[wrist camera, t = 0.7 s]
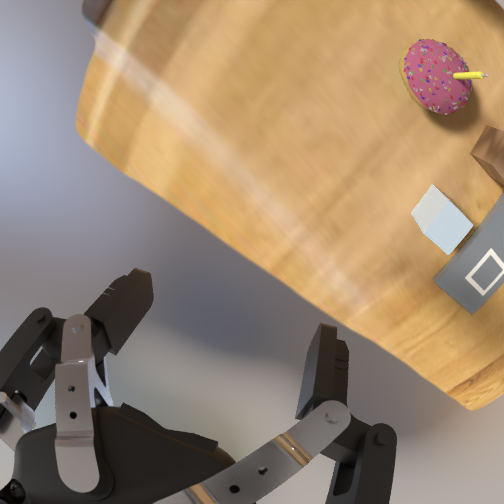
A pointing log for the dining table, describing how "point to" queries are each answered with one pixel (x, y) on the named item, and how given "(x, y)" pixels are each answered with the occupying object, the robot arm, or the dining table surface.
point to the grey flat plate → (477, 263)
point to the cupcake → (436, 76)
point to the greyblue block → (441, 220)
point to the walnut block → (491, 153)
